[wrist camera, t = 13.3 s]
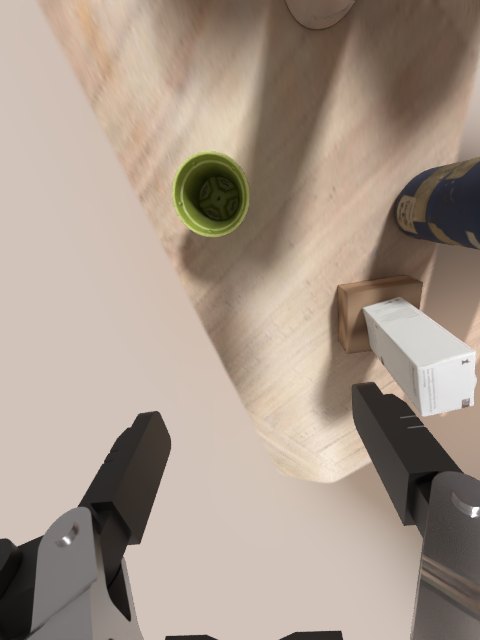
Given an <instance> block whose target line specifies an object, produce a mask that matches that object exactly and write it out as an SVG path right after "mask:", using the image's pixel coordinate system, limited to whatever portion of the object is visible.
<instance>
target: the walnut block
mask: <svg viewBox="0 0 480 640" xmlns="http://www.w3.org/2000/svg"><path fill="white" fill-rule="evenodd" d="M422 285H423V282H421V281H418V280H416V279H414V278H411V277H409V276H406V275H402V276H395V277H389V278H382V279H375V280H368V281H362V282H355V283H348V284H342V285H338V331H339V342H340V344H341V345H342V346H343V348H344V349H345V351H346V352H347V354H349V353H357V352H366V351H373V350H372V349H371V347H370V343H369V335H368V329H367V324H366V319H365V315H364V313H363V308H364V307H367V306H370V305H373V304H376V303H380V302H384V301H387V300H391V299H394V298H397V297H402V298H403V299H405V300H406V301H407V302H409V303H410V304H412V305H413V306H414V307H416V308H417V309H418V310H419V308H420V300H421V293H422Z"/></svg>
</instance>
